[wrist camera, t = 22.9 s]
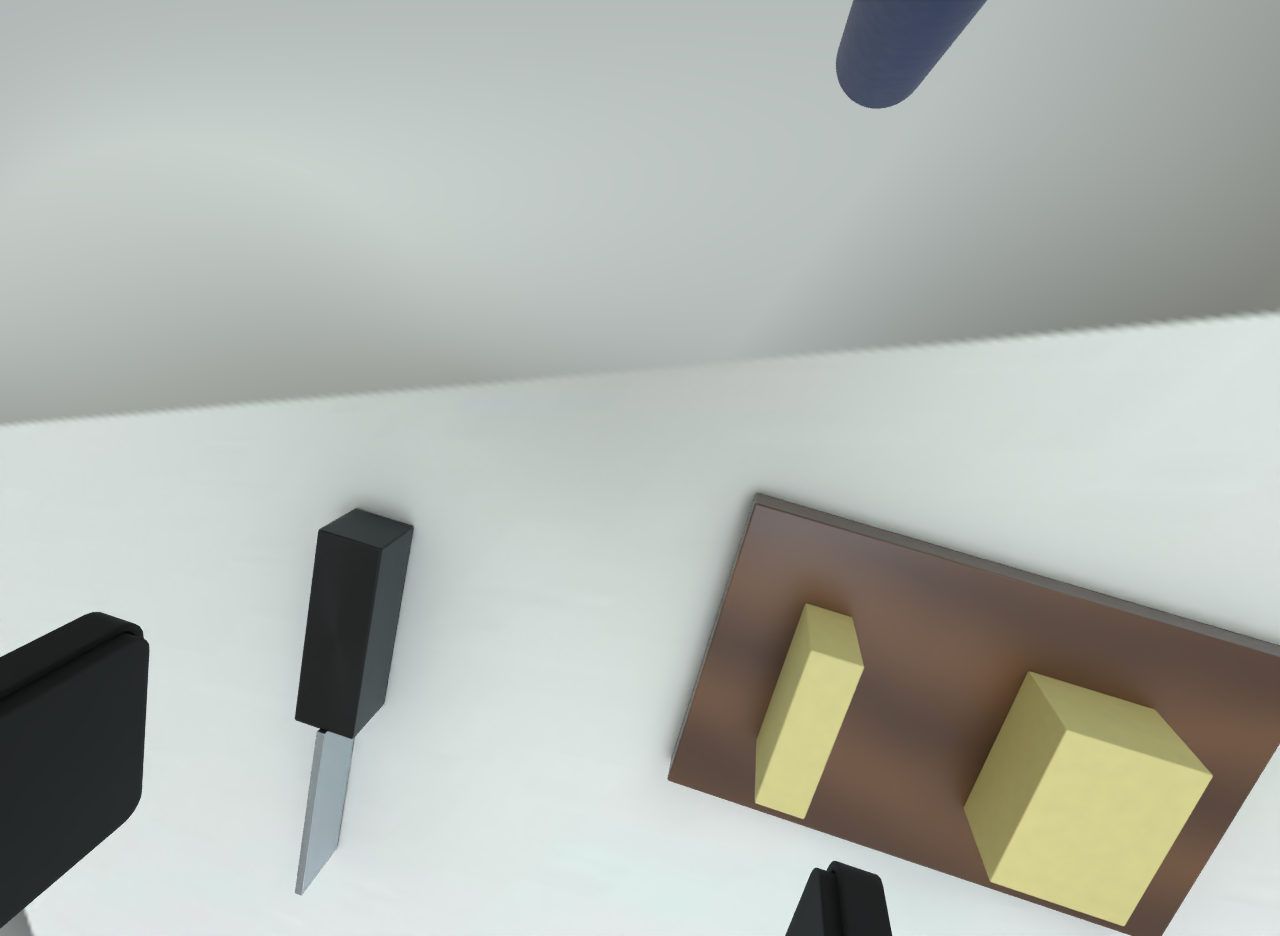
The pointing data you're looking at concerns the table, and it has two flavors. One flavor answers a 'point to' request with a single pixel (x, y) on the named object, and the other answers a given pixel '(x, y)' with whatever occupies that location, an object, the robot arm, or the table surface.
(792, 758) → the butter slice
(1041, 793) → the butter block
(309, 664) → the knife
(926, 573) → the board
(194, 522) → the table surface
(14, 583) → the table surface
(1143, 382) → the table surface
